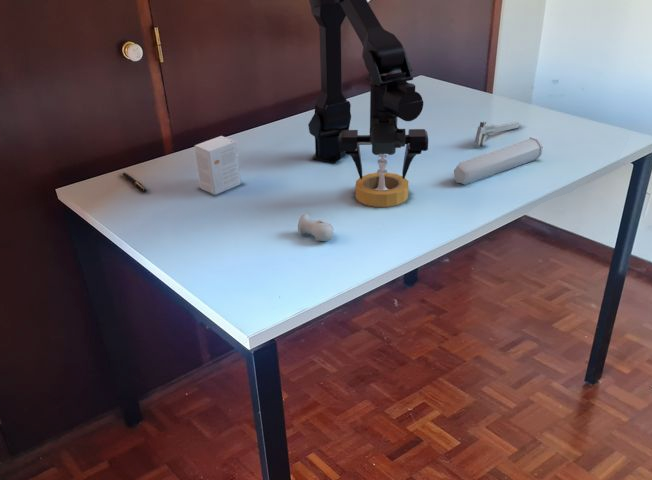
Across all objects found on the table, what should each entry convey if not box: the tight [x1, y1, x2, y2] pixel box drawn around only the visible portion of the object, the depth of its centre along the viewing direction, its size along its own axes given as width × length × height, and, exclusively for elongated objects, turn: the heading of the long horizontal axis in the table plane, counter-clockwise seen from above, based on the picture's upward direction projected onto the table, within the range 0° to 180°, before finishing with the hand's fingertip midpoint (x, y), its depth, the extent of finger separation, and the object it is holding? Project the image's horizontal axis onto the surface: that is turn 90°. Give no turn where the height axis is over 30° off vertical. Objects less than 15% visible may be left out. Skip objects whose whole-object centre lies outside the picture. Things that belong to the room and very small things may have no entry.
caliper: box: [474, 121, 522, 148], centre depth 182 cm, size 20×1×6 cm, turn 137°
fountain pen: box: [121, 171, 147, 193], centre depth 167 cm, size 14×1×2 cm, turn 35°
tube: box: [453, 136, 544, 186], centre depth 165 cm, size 5×5×25 cm
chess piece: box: [376, 154, 389, 190], centre depth 155 cm, size 5×5×10 cm
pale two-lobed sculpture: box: [297, 213, 335, 242], centre depth 143 cm, size 4×8×5 cm
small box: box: [194, 135, 242, 196], centre depth 162 cm, size 8×6×10 cm
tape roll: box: [355, 172, 410, 208], centre depth 157 cm, size 12×12×3 cm
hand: (382, 178), depth 156 cm, fingers open, 9 cm apart
